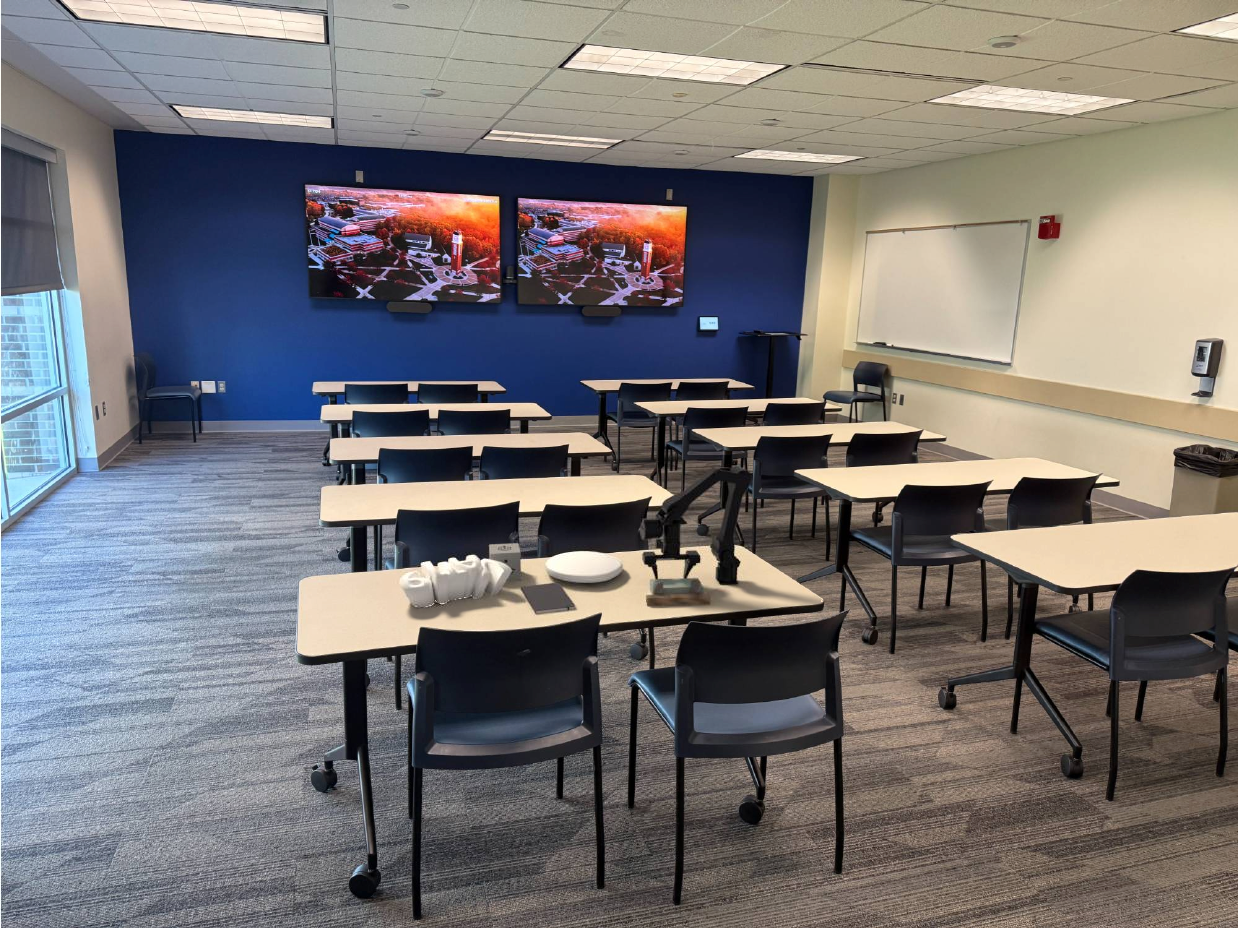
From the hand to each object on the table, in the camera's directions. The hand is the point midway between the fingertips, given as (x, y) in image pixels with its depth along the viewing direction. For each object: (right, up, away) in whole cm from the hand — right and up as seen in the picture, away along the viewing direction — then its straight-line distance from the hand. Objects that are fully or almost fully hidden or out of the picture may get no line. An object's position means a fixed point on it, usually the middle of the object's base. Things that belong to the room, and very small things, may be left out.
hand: (670, 581), depth 269 cm
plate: (-29, +1, +11) cm, 31 cm away
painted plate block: (+1, -3, -6) cm, 7 cm away
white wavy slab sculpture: (-70, -3, -11) cm, 71 cm away
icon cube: (-56, +1, +7) cm, 57 cm away
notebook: (-40, -4, -12) cm, 42 cm away
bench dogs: (+1, -4, -13) cm, 14 cm away
